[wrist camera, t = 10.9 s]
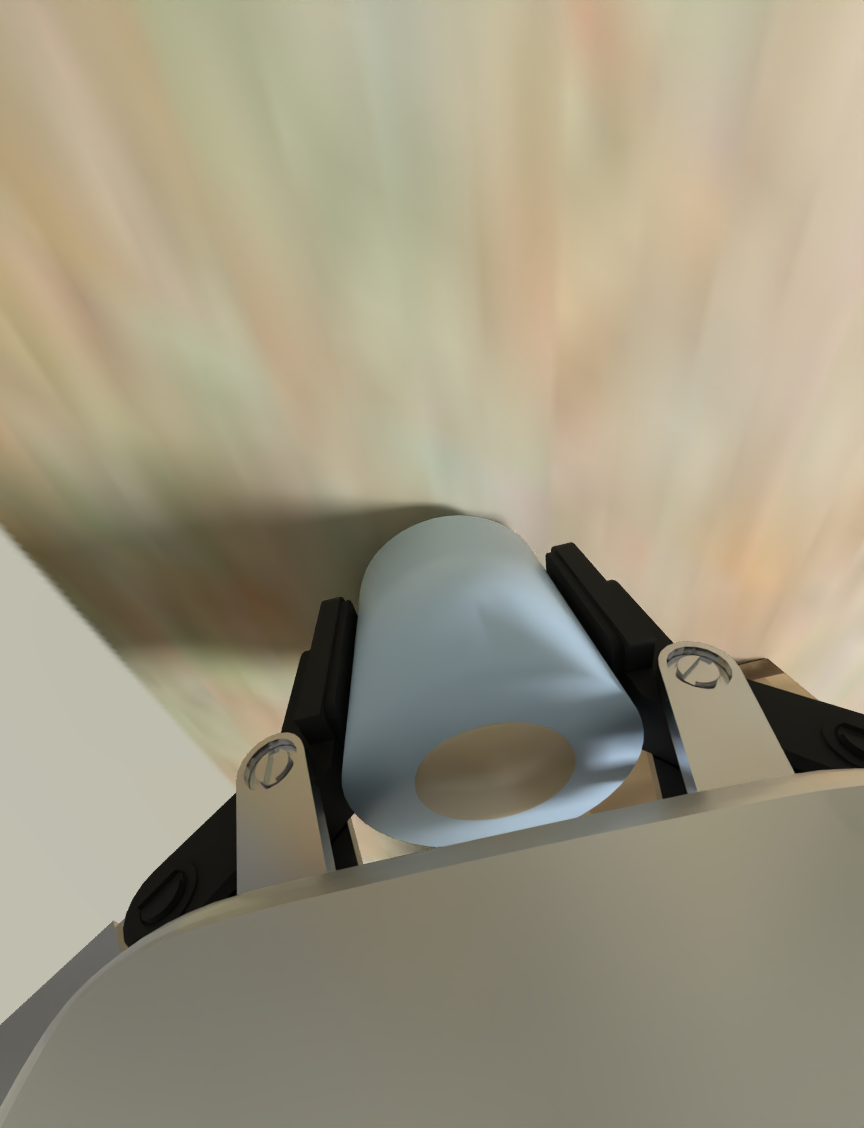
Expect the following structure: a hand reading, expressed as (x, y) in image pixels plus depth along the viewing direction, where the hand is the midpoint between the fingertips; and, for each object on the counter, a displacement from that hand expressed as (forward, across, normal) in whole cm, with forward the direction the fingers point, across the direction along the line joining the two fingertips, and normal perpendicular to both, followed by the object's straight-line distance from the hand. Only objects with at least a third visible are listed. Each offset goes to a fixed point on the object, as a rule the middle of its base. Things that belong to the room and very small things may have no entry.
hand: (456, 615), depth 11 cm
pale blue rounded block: (+1, 0, 0) cm, 1 cm away
